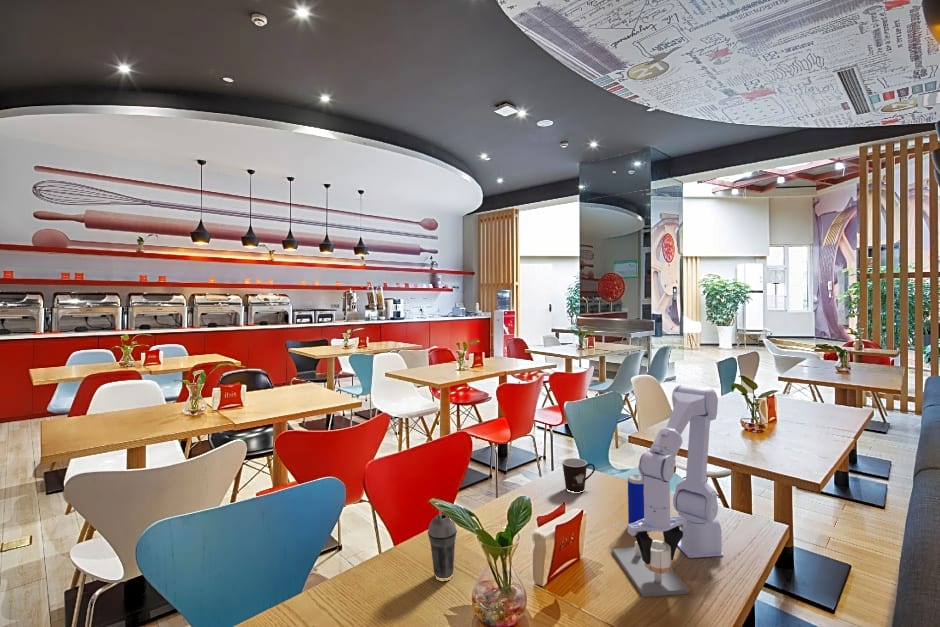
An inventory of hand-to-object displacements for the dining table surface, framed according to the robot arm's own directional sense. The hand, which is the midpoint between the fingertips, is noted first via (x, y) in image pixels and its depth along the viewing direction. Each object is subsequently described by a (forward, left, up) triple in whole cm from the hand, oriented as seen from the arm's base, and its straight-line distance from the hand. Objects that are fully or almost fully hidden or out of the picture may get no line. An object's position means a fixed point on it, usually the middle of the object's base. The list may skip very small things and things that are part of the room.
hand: (657, 559), depth 113 cm
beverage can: (-7, -28, -6) cm, 29 cm away
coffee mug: (+2, -56, -6) cm, 56 cm away
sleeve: (0, 0, -2) cm, 2 cm away
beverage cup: (+51, -10, -6) cm, 52 cm away
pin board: (0, -6, -6) cm, 8 cm away
